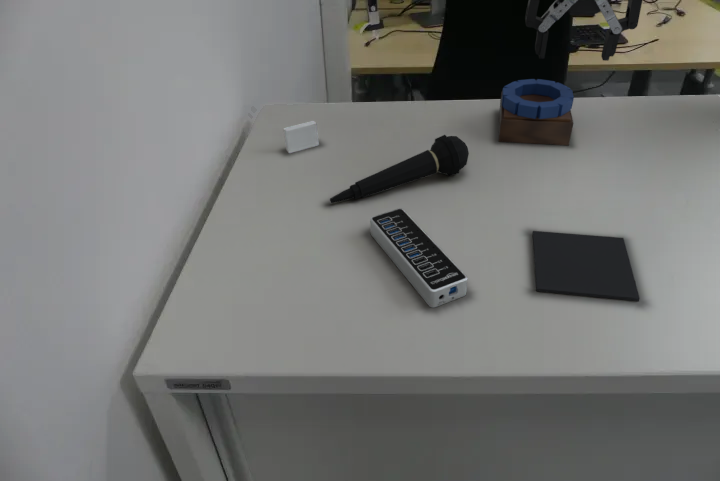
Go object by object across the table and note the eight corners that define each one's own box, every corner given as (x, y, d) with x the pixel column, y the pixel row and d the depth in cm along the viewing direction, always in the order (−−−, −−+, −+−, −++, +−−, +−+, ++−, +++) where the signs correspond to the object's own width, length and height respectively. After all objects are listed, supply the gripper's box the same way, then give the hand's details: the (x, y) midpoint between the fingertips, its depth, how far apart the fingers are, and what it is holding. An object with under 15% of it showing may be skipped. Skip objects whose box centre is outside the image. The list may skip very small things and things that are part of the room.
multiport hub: (401, 222, 69) (401, 206, 67) (467, 294, 58) (469, 278, 57) (369, 232, 68) (368, 217, 66) (431, 308, 57) (432, 292, 56)
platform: (563, 114, 89) (567, 91, 87) (568, 145, 82) (574, 120, 79) (499, 112, 91) (501, 88, 89) (498, 141, 84) (501, 117, 81)
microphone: (340, 229, 73) (473, 176, 77) (337, 203, 68) (479, 148, 72) (324, 199, 76) (453, 149, 80) (320, 172, 71) (457, 120, 75)
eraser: (319, 145, 85) (316, 123, 83) (289, 153, 84) (285, 131, 82) (315, 142, 86) (313, 120, 84) (286, 150, 85) (283, 128, 82)
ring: (567, 90, 87) (569, 79, 86) (574, 120, 79) (576, 108, 78) (501, 88, 89) (502, 77, 88) (501, 117, 81) (502, 105, 80)
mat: (622, 240, 64) (623, 237, 64) (638, 301, 57) (639, 298, 56) (532, 233, 66) (532, 230, 66) (536, 291, 58) (536, 288, 58)
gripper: (654, -79, 70) (621, 50, 81) (536, -77, 73) (519, 47, 83) (667, -67, 65) (630, 70, 75) (539, -66, 67) (521, 66, 77)
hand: (572, 57), depth 79 cm, fingers open, 8 cm apart
